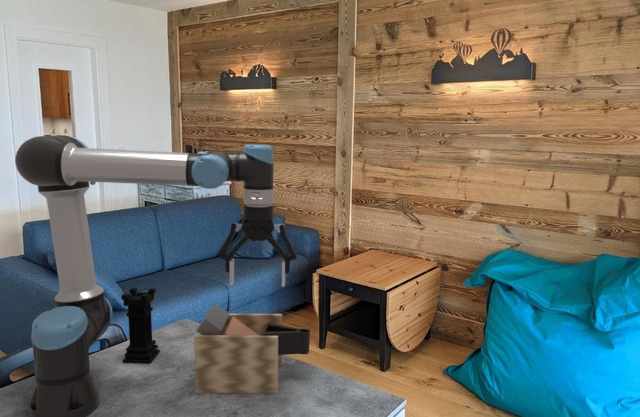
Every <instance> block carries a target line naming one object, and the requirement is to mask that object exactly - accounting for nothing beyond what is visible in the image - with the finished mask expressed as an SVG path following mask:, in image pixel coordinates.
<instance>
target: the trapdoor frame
mask: <svg viewBox="0 0 640 417" xmlns="http://www.w3.org/2000/svg"><path fill="white" fill-rule="evenodd" d="M232 317H234V318H236V319H237V320H239V321H240V322H241V323H243V324H244V325H246V326H247V327H248V328H250V329H251V330H253V331H254V332H255V333H257V334H258V335H260V336H253V335H224V334H225V332H226V329H227V327H228V325H229V323H230V320H231V319H232ZM267 323H272V324H278V325H283V314H282V313H229V316H228V318H227V320H226V322H225V324H224V326H223V328H222V331H221V332H220V333H219V334H218V335H201V334H195V335H194V336H193V340H194V341H193V342H194V343H193V344H194V346H193V350H194V379H195V380H194V384H195V387H194V388H195V393H196V394H199V393H200V394H201V393H202V394H279V366H283V355H278V336H263V332H264V330H265V328H266V326H267Z"/></svg>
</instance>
